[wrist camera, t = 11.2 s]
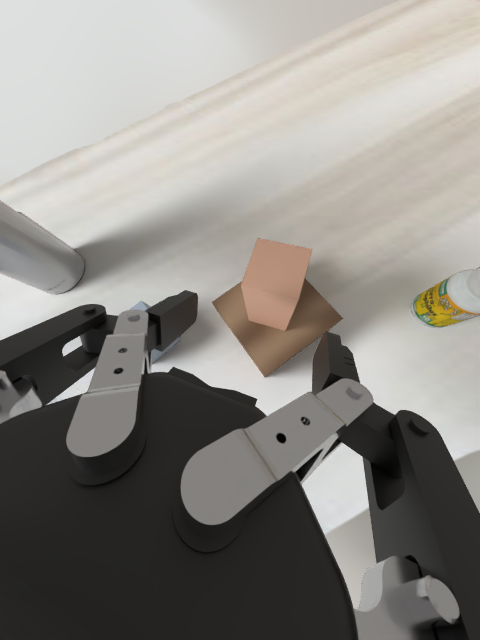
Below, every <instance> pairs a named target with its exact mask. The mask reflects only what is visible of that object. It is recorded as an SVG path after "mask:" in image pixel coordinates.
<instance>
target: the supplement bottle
mask: <svg viewBox="0 0 480 640" xmlns="http://www.w3.org/2000/svg"><path fill="white" fill-rule="evenodd" d="M411 310H412V313H413V315H414V317H415V318H416V319H417V320H418V321H419V322H420V323H422V324H423V325H426V326H428V327H433V328H440V327H444V326H448V325H451V324H454V323H457V322H460V321H463V320H467V319H470V318H473V317H476V316H479V315H480V267H479V268H477V269H475V270H464V271H461V272H458V273H456V274H454V275H453V276H451V277H449V278H447V279H446V280H444V281H442V282H440V283H439V284H437V285H435V286H434V287H432V288H430V289H428V290H426V291H425V292H423V293H421V294H420V295H418V296H417V297H416V298H415V299H414V300H413V302H412V304H411Z"/></svg>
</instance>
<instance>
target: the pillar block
mask: <svg viewBox="0 0 480 640" xmlns="http://www.w3.org/2000/svg"><path fill="white" fill-rule="evenodd" d="M311 252H312V249H308V248H303V247H298V246H294V245H289V244H284V243H279V242H274V241H269V240H264V239H259V238H258V239H257V242H256V245H255V248H254V250H253V253H252V256H251V259H250V261H249V264H248V267H247V270H246V273H245V275H244V278H243V281H242V284H241V288H242V292H243V297H244V301H245V306H246V310H247V315H248V319H249V321H252V322H255V323H259V324H262V325H266V326H269V327H273V328H276V329H280V330H283V331H286V328H287V326H288V324H289V321H290V319H291V316H292V314H293V312H294V309H295V307H296V305H297V302H298V300H299V296H300V293H301V289H302V285H303V282H304V278H305V274H306V271H307V267H308V263H309V260H310V256H311Z"/></svg>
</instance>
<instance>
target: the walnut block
mask: <svg viewBox="0 0 480 640" xmlns="http://www.w3.org/2000/svg"><path fill="white" fill-rule="evenodd" d="M241 284H242V282H240V283H239V284H237V285H236V286H234V287H233V288H232V289H230V290H229V291H227V292H226V293H224V294H223V295H221V296H220V297H219V298H217V299H216V300H214V301H213V302H212V303H213V305H214V306H215V308H216V309H217V311H218V312H219V314H220V316H221V317H222V318H223V320H224V321H225V322H226V324H227V325H228V327H229V328H230V329H231V331H232V332H233V334H234V335H235V336H236V338H237V339H238V341H239V342H240V343H241V345H242V346H243V348H244V349H245V350H246V352H247V353H248V355H249V356H250V357H251V359H252V360H253V362H254V363H255V364H256V366H257V367H258V369H259V370H260V371H261V373H262V374H263V376H264V377H266V376H268V375H269V374H270V373H272V372H273V371H274V370H276V369H277V368H278V367H280V366H281V365H282V364H284V363H285V362H286V361H288V360H289V359H290V358H292V357H293V356H294V355H296V354H297V353H298V352H300V351H301V350H302V349H304V348H305V347H306V346H308V345H309V344H310V343H312V342H313V341H315V340H316V339H317V338H319V337H320V336H321V335H323V334H324V333H325V332H327V331H328V330H329V329H330V328H332V327H333V326H334V325H335V324H337V323H338V322H339V321H340V320H342V319H343V318H342V317H341V316H340V315H339V314H338V313H337V312H336V311H335V310H334V308H333V307H332V306H331V305H330V304H329V303H328V302H327V301H326V300H325V299H324V298H323V297H322V296H321V295H320V294H319V293H318V292H317V291H316V290H315V289H314V287H313V286H312V285H311V284H310V283H309V282H308V281H307V280H306V279H305V278H304V282H303V285H302V289H301V293H300V296H299V300H298V302H297V305H296V307H295V309H294V312H293V314H292V316H291V319H290V321H289V324H288V326H287V328H286V331H283V330H280V329H276V328H273V327H269V326H266V325H262V324H259V323H255V322H252V321H249V319H248V315H247V310H246V306H245V301H244V297H243V292H242V288H241Z"/></svg>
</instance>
